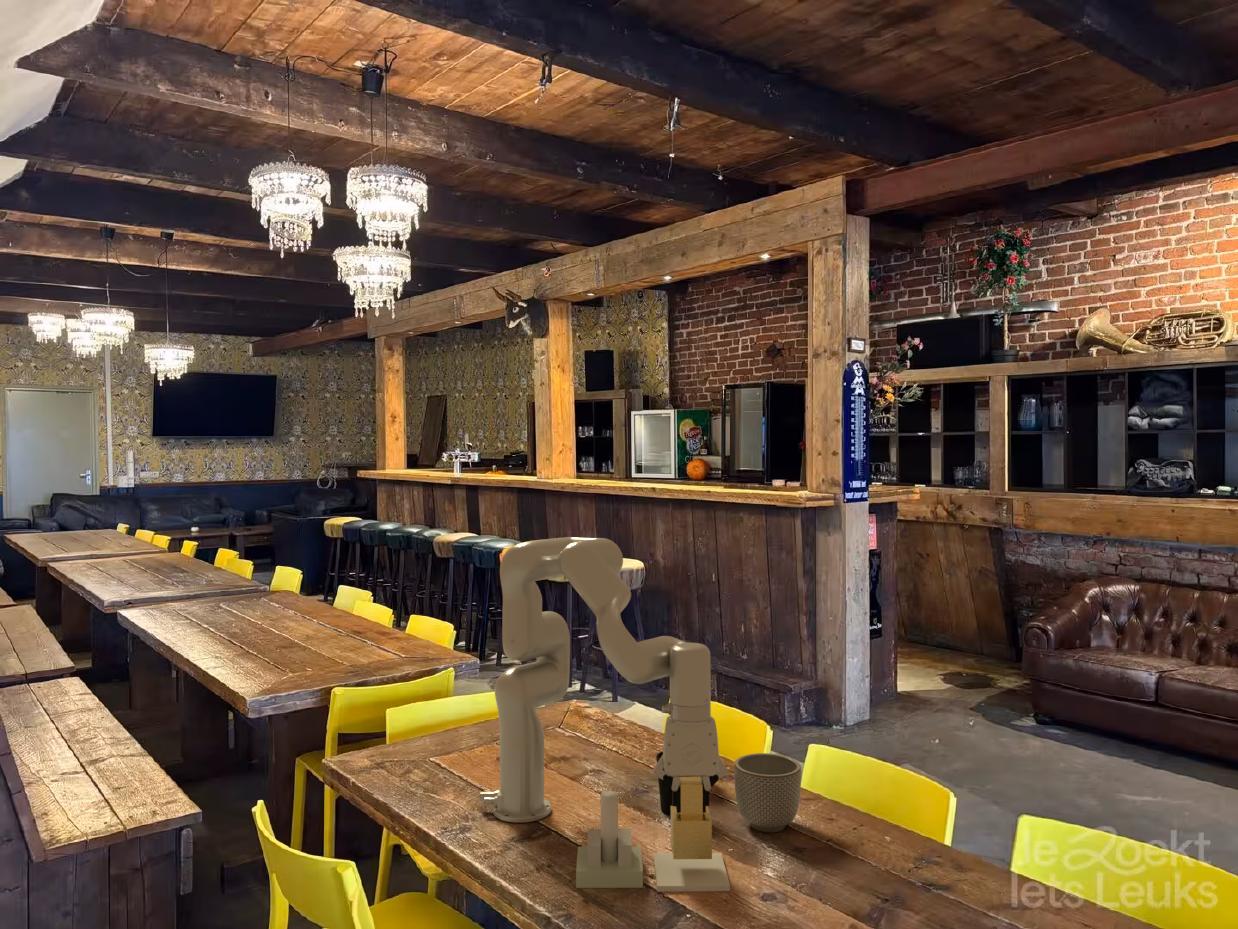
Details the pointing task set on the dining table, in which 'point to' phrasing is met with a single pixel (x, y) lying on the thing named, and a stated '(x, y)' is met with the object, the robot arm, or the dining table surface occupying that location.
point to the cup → (664, 793)
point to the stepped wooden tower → (691, 823)
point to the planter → (767, 790)
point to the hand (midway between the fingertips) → (690, 808)
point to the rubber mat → (690, 874)
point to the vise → (609, 853)
